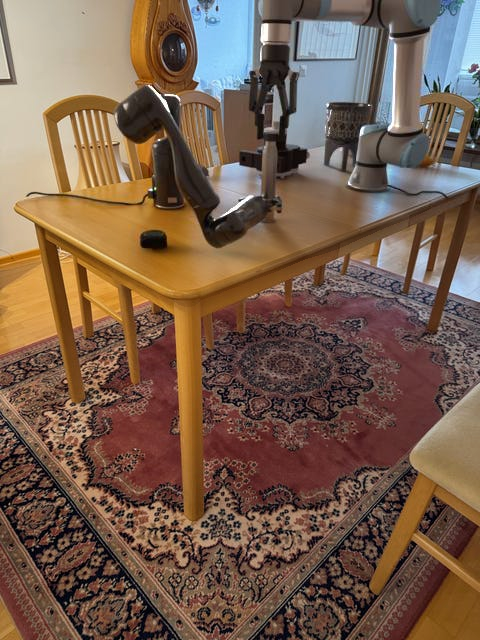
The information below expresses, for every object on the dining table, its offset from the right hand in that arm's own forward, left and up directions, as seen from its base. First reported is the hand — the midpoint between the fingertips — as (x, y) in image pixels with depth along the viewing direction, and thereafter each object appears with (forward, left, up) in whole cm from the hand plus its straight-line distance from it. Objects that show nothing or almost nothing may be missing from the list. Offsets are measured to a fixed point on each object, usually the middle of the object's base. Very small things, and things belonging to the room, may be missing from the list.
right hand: (270, 139), depth 128 cm
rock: (+30, -49, -23) cm, 63 cm away
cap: (0, 0, +2) cm, 2 cm away
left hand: (-1, -3, -17) cm, 17 cm away
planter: (-33, -84, -23) cm, 93 cm away
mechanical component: (-5, -66, -23) cm, 70 cm away
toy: (-71, -92, -23) cm, 119 cm away
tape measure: (+28, +28, -23) cm, 46 cm away
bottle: (0, 0, -23) cm, 23 cm away
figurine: (-41, -117, -23) cm, 126 cm away
